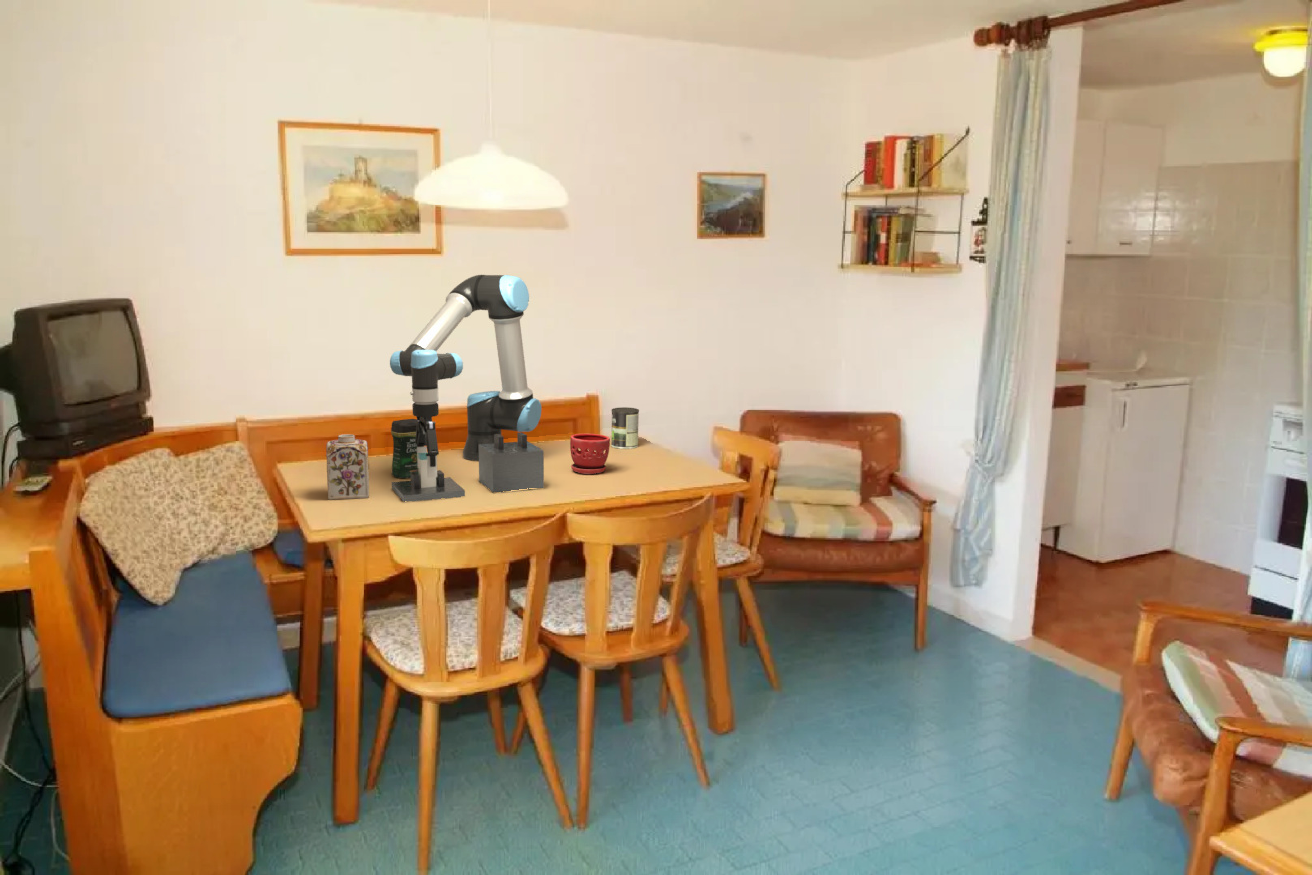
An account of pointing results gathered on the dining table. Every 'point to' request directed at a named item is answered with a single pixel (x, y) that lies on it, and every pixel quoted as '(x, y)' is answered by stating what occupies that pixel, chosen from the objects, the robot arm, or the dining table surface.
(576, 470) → the plant pot
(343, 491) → the decorative jar
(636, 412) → the coffee can
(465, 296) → the robot arm
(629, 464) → the dining table surface
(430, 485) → the plug
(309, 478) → the dining table surface
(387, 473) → the dining table surface
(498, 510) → the dining table surface
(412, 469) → the coffee jar
